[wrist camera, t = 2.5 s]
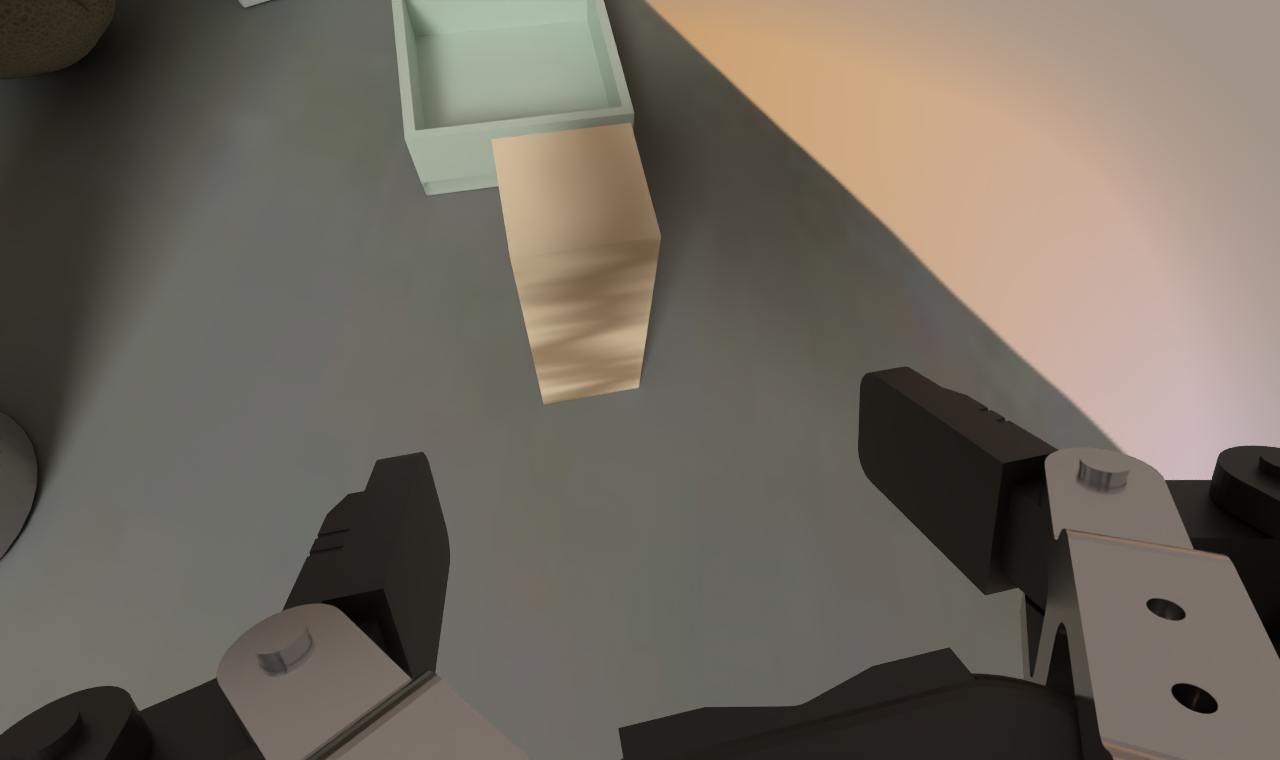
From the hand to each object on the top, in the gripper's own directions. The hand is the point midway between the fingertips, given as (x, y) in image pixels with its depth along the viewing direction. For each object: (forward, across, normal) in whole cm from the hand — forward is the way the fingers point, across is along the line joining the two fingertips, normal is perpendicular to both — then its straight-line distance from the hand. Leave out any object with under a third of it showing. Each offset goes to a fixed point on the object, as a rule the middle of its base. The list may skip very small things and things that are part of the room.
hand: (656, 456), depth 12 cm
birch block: (+19, 0, +5) cm, 19 cm away
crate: (+30, +1, -7) cm, 31 cm away
